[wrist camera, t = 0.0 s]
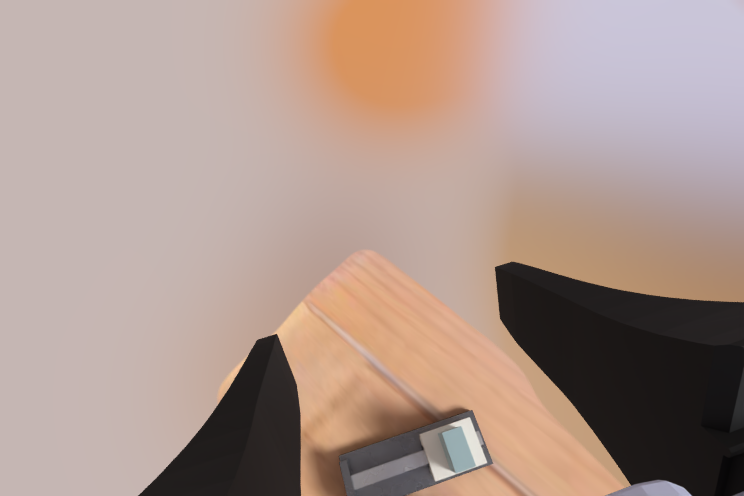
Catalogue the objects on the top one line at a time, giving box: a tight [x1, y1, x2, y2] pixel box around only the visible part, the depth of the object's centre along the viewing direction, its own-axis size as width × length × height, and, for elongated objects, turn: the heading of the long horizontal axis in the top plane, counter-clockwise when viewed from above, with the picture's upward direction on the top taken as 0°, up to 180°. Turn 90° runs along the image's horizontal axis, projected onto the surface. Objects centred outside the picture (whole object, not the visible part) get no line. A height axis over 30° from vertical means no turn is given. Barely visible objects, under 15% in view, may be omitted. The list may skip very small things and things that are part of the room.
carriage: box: [419, 417, 487, 482], centre depth 36 cm, size 4×5×5 cm
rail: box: [339, 410, 493, 496], centre depth 38 cm, size 5×14×3 cm, turn 107°
